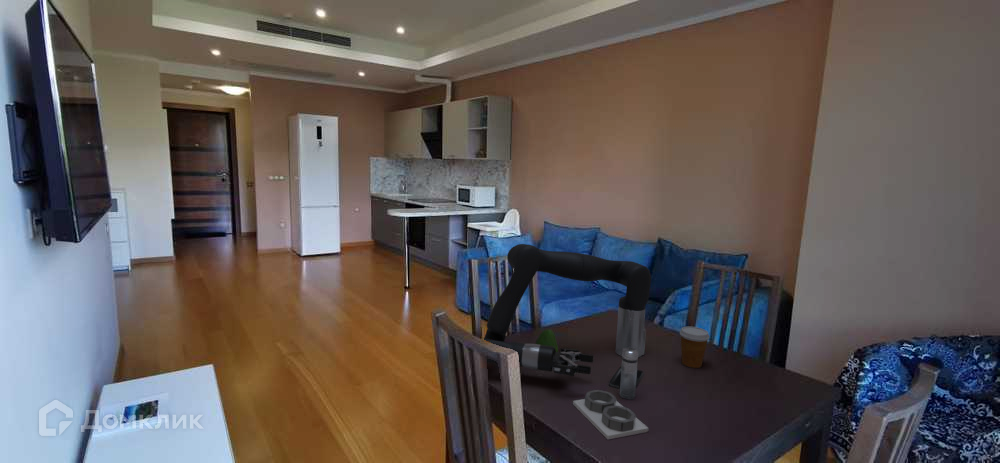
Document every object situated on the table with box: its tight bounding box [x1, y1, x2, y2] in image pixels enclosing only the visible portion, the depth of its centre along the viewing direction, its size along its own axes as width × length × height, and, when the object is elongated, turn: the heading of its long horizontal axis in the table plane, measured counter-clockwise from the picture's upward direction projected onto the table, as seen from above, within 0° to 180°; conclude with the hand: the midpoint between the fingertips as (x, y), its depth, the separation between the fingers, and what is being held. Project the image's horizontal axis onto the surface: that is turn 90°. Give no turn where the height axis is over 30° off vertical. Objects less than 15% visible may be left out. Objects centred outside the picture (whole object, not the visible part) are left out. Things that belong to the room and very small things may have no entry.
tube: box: [619, 348, 639, 400], centre depth 139 cm, size 4×4×14 cm
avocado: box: [535, 328, 559, 352], centre depth 160 cm, size 8×8×12 cm
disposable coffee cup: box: [679, 326, 710, 369], centre depth 163 cm, size 10×10×12 cm
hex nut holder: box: [572, 389, 649, 440], centre depth 127 cm, size 12×18×4 cm, turn 19°
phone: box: [608, 366, 644, 390], centre depth 150 cm, size 8×1×15 cm
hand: (591, 364), depth 142 cm, fingers open, 8 cm apart
